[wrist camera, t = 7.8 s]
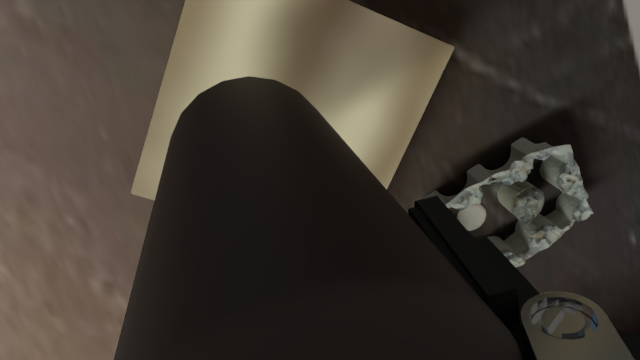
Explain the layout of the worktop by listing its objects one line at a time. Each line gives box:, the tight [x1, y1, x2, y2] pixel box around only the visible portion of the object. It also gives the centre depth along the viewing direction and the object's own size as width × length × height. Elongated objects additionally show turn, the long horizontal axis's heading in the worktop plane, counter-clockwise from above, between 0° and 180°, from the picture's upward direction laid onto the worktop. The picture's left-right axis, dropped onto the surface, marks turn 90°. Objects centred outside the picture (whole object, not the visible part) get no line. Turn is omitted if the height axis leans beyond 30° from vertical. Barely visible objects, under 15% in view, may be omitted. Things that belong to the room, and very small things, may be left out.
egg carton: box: [424, 137, 593, 268], centre depth 32 cm, size 11×8×4 cm
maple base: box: [131, 0, 455, 200], centre depth 27 cm, size 14×14×3 cm
